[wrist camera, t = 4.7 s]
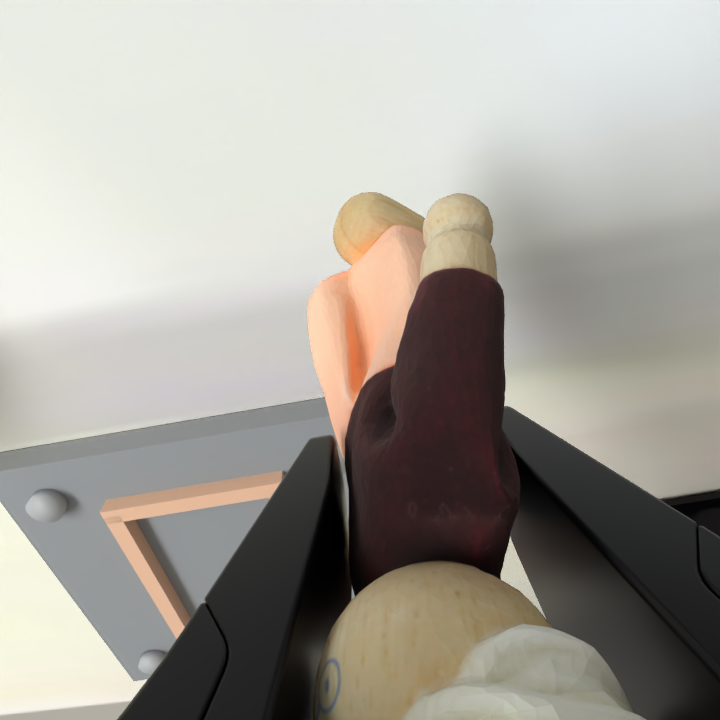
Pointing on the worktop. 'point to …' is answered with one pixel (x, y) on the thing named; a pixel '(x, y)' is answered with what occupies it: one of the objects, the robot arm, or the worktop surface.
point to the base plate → (153, 514)
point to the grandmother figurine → (432, 484)
